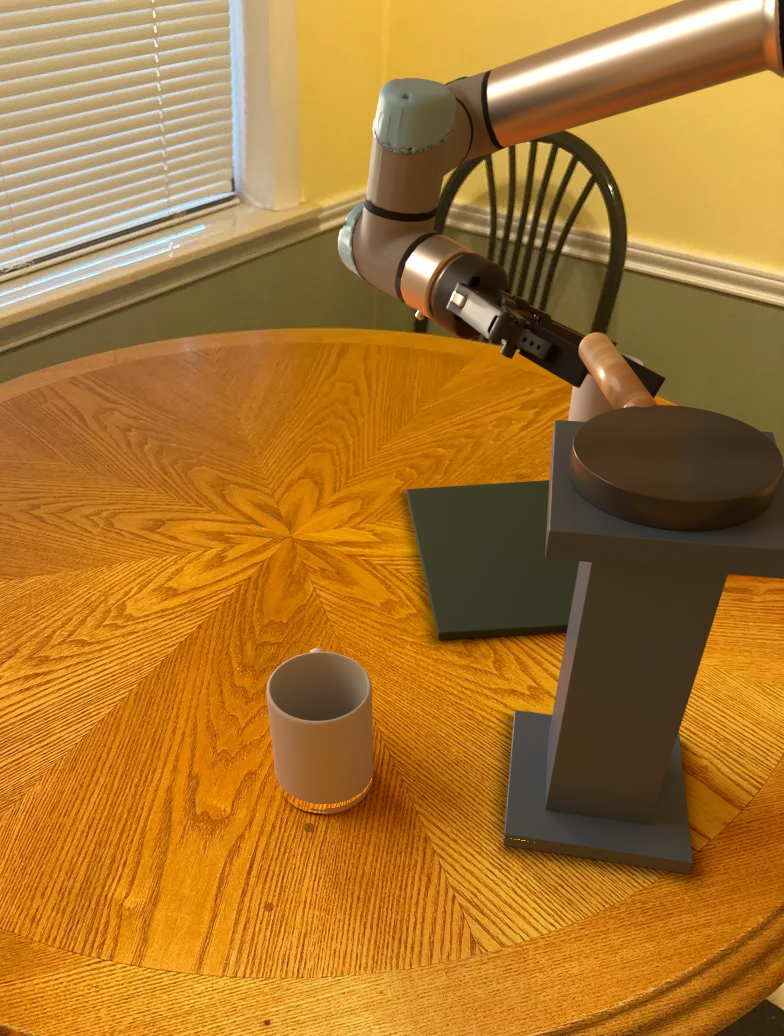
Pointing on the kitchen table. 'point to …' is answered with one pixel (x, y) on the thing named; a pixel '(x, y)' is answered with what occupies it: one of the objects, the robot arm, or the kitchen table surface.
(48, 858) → the kitchen table surface
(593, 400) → the cup
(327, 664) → the mug
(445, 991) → the kitchen table surface
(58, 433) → the kitchen table surface
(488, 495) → the mat
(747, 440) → the brown paddle
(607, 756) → the stand
